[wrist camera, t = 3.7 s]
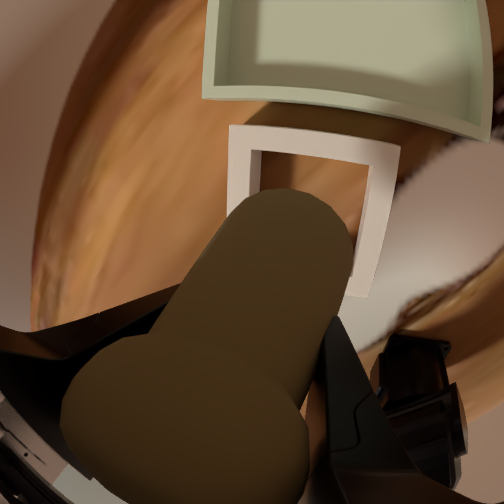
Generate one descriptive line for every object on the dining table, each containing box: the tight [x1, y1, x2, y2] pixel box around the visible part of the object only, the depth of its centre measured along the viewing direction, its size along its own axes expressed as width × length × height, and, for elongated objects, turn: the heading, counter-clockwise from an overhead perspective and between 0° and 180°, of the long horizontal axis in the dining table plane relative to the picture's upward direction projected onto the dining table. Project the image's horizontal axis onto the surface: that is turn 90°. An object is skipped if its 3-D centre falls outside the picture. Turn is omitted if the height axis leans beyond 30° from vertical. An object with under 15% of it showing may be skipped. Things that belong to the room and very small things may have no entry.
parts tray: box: [202, 0, 493, 143], centre depth 12 cm, size 18×14×3 cm
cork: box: [59, 188, 353, 504], centre depth 8 cm, size 6×6×11 cm
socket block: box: [227, 124, 401, 299], centre depth 19 cm, size 10×10×2 cm
